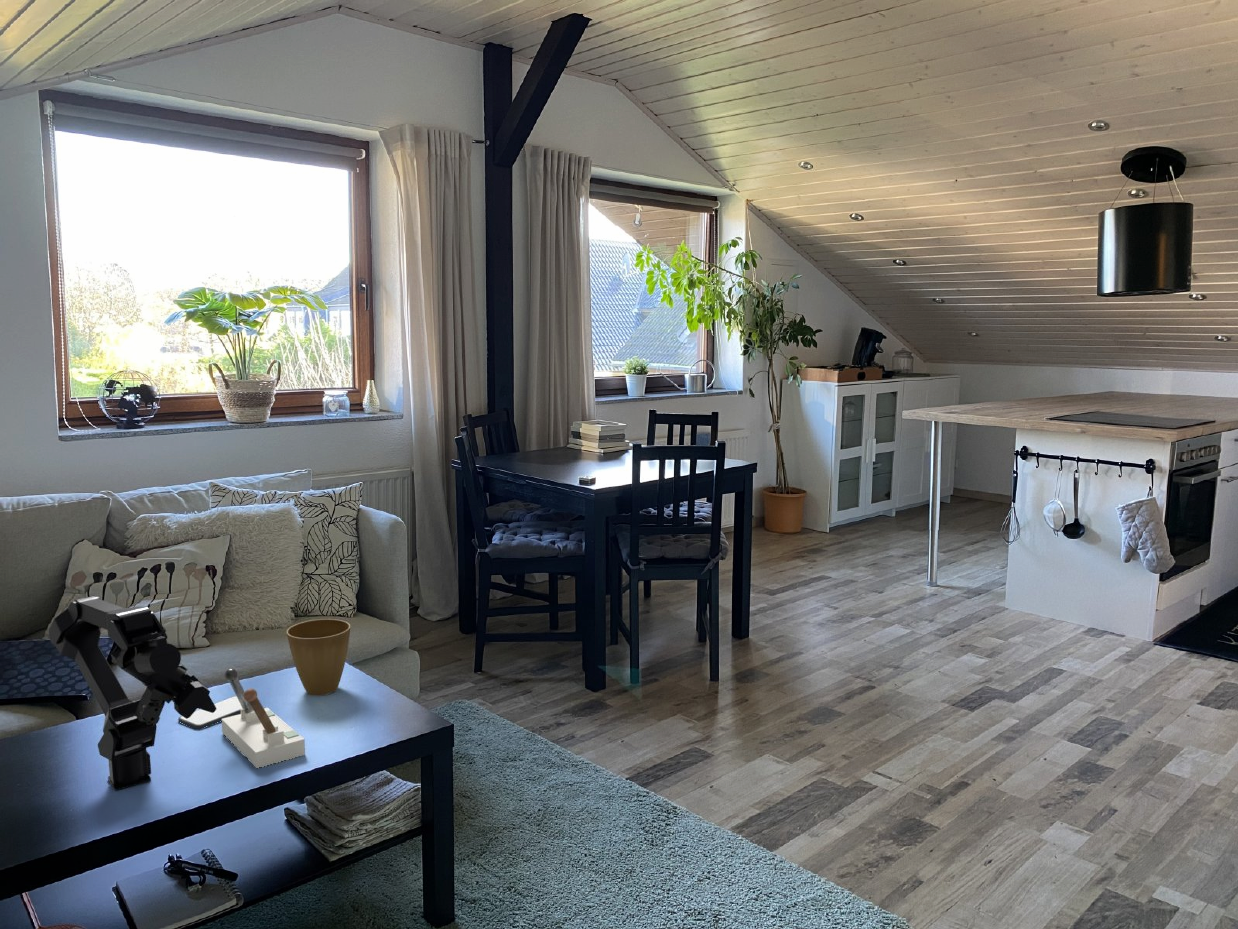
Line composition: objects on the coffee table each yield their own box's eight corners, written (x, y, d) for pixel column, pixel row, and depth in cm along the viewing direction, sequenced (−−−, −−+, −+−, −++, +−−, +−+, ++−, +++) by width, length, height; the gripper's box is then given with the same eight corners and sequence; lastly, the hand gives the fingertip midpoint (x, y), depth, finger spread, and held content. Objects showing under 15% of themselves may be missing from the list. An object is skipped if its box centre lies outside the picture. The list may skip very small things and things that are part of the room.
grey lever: (246, 719, 206) (224, 674, 202) (242, 715, 208) (220, 671, 204) (257, 712, 207) (236, 668, 203) (253, 708, 209) (232, 665, 205)
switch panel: (256, 769, 191) (255, 743, 190) (222, 734, 208) (220, 710, 207) (305, 755, 197) (304, 730, 197) (268, 722, 214) (266, 699, 213)
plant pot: (281, 689, 235) (277, 626, 232) (339, 675, 244) (336, 615, 242) (302, 707, 223) (299, 641, 221) (362, 692, 232) (360, 629, 230)
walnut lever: (269, 740, 195) (243, 695, 191) (265, 736, 197) (239, 692, 193) (280, 732, 196) (255, 688, 192) (276, 728, 198) (251, 684, 194)
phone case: (198, 733, 210) (261, 708, 223) (198, 726, 210) (260, 702, 223) (176, 724, 215) (238, 700, 228) (175, 717, 215) (238, 694, 228)
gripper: (109, 689, 184) (172, 729, 193) (131, 720, 170) (199, 762, 178) (151, 642, 188) (211, 684, 197) (176, 668, 174) (240, 712, 182)
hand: (214, 710), depth 188 cm, fingers closed
